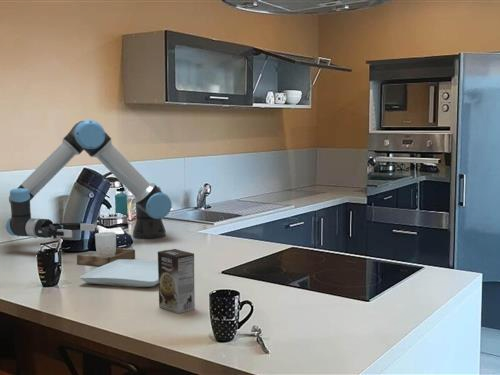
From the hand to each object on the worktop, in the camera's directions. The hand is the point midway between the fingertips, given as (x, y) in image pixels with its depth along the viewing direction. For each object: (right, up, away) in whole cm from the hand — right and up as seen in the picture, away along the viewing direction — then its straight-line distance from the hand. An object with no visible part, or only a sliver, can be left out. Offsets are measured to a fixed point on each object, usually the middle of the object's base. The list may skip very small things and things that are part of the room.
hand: (83, 230), depth 232 cm
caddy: (+10, -11, -4) cm, 16 cm away
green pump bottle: (-2, -3, +80) cm, 80 cm away
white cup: (+10, -11, -4) cm, 15 cm away
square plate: (+26, -15, -29) cm, 42 cm away
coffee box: (+44, -18, -64) cm, 79 cm away
